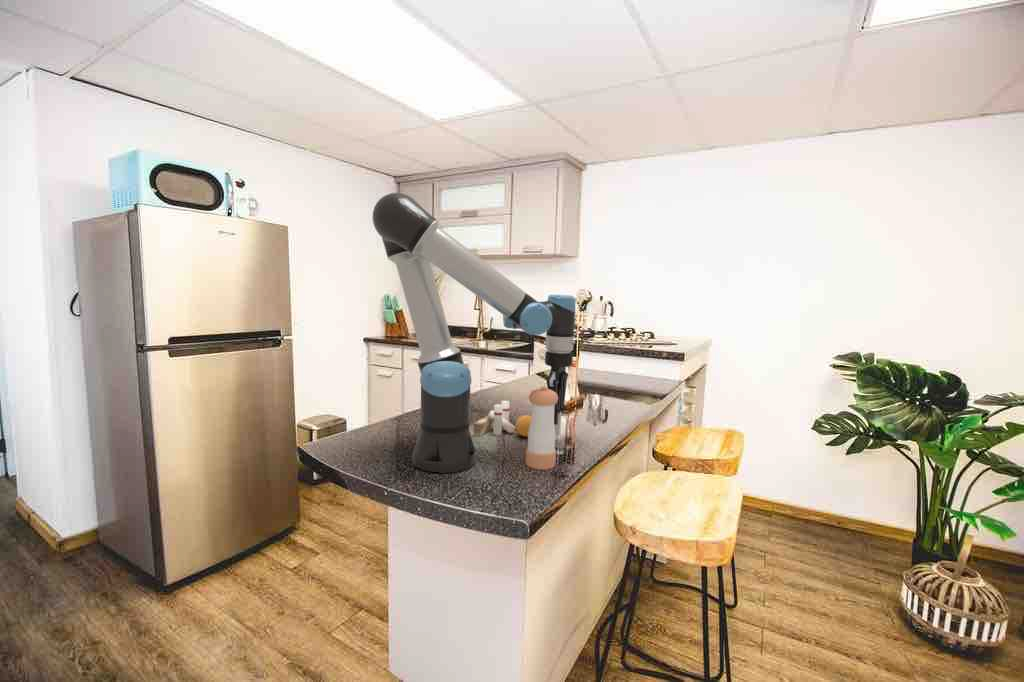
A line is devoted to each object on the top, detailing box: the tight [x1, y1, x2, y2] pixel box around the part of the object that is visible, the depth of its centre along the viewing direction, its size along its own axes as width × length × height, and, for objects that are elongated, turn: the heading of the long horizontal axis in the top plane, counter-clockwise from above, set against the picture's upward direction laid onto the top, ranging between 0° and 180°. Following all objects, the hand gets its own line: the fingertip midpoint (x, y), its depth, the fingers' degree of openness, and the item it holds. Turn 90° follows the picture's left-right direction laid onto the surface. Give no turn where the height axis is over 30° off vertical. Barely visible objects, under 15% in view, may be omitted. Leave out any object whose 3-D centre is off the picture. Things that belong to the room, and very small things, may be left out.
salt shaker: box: [525, 385, 558, 471], centre depth 107 cm, size 7×7×19 cm
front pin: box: [486, 409, 516, 434], centre depth 131 cm, size 2×2×8 cm
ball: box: [515, 414, 531, 437], centre depth 128 cm, size 6×6×6 cm
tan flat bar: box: [472, 415, 494, 438], centre depth 133 cm, size 14×2×4 cm, turn 157°
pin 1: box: [492, 403, 503, 436], centre depth 128 cm, size 2×2×8 cm
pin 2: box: [500, 400, 510, 431], centre depth 133 cm, size 2×2×8 cm
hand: (554, 434), depth 125 cm, fingers closed
